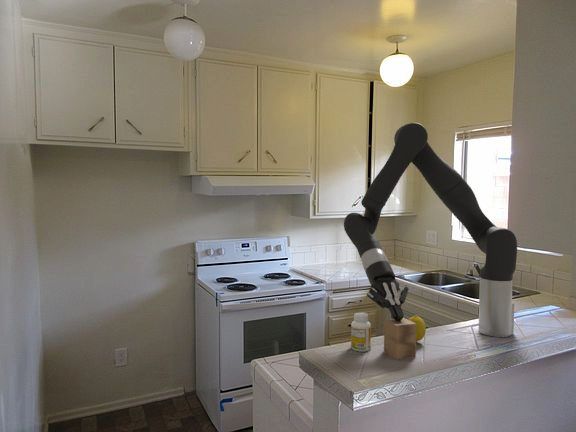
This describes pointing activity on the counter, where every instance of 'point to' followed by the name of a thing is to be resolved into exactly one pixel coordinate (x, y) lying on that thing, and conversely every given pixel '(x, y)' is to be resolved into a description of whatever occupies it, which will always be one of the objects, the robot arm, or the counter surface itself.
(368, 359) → the counter surface
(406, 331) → the brown wooden block
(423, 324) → the lemon
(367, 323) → the supplement bottle
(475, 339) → the counter surface
